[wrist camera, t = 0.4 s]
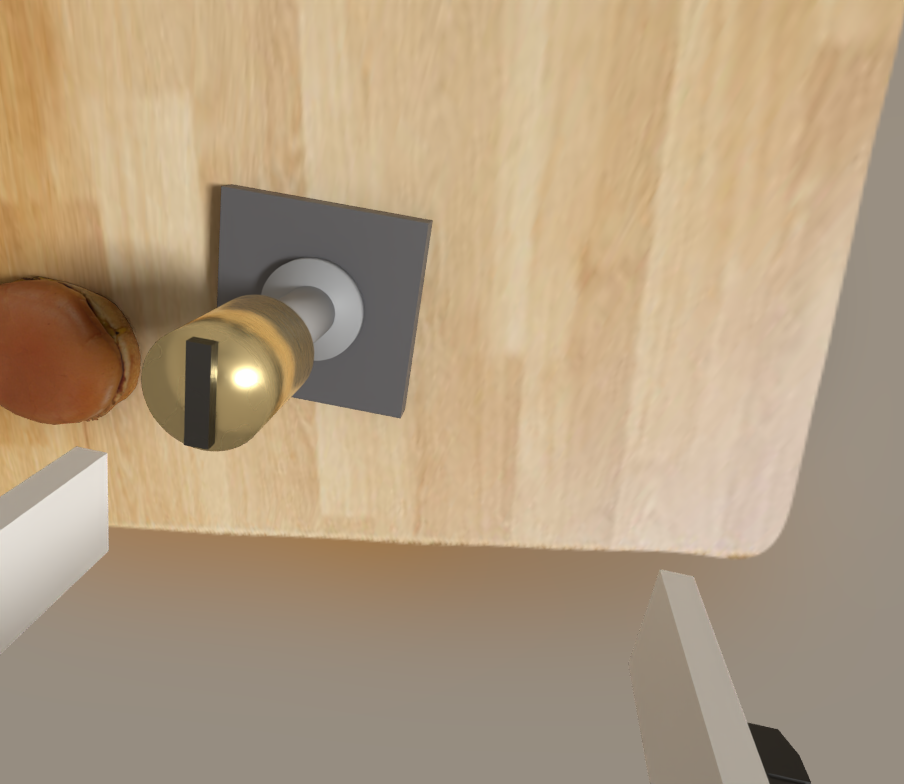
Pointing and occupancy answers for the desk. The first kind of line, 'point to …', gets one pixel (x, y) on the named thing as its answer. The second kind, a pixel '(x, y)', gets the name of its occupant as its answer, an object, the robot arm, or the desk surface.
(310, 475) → the desk surface
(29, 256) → the desk surface
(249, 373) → the cap
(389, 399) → the post block
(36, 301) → the burger
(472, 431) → the desk surface
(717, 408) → the desk surface
